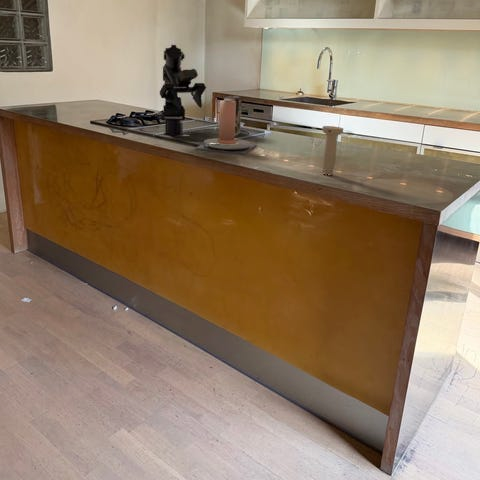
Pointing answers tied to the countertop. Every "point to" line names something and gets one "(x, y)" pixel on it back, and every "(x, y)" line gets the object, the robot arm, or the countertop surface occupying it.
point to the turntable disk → (237, 146)
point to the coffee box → (238, 112)
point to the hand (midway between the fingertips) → (191, 107)
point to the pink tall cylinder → (227, 122)
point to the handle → (330, 148)
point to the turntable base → (242, 151)
